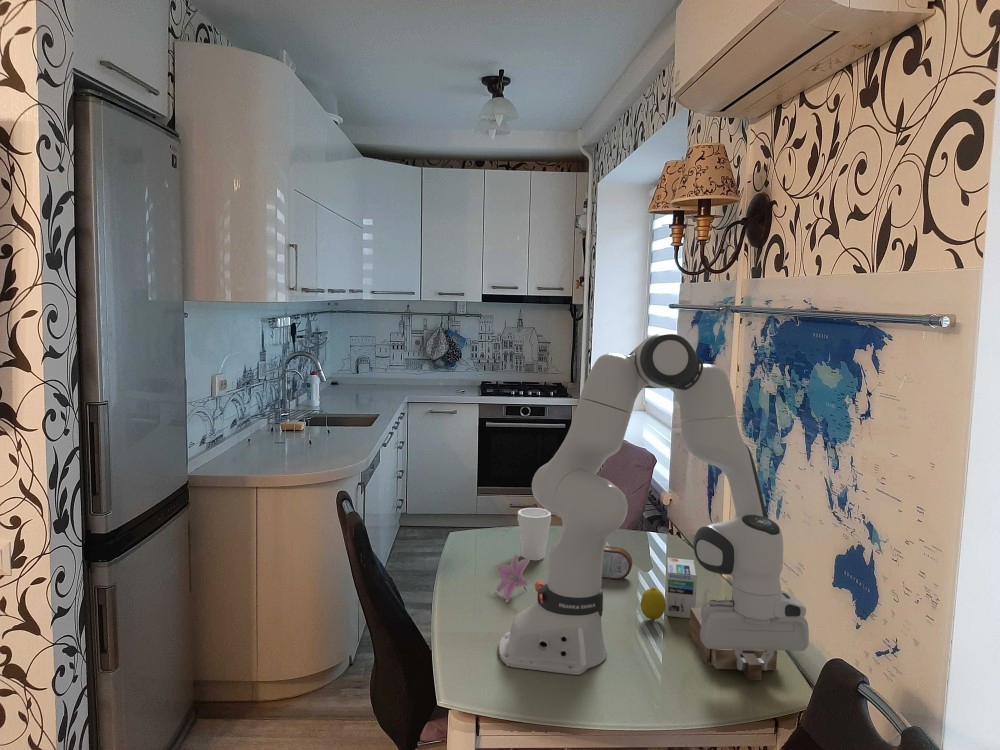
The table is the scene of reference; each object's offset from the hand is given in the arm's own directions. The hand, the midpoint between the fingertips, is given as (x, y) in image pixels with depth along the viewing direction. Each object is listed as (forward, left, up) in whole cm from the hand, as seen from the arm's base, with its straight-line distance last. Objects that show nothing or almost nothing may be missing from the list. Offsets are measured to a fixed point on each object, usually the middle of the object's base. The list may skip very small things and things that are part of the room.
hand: (751, 668), depth 143 cm
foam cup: (-40, +66, -3) cm, 77 cm away
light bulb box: (-6, +33, -3) cm, 34 cm away
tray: (0, +7, -2) cm, 7 cm away
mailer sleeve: (0, +13, -3) cm, 13 cm away
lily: (-46, +40, -3) cm, 61 cm away
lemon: (-14, +26, -3) cm, 30 cm away
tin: (-22, +52, -3) cm, 57 cm away
